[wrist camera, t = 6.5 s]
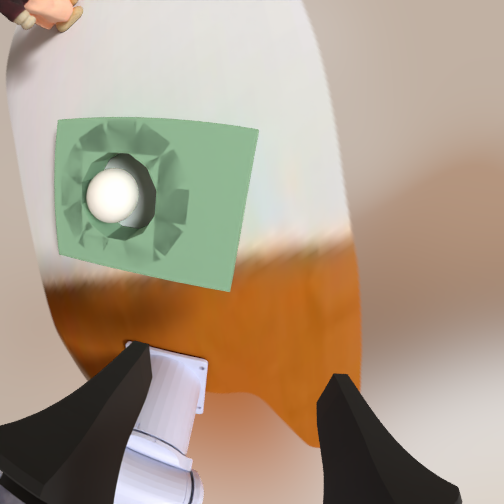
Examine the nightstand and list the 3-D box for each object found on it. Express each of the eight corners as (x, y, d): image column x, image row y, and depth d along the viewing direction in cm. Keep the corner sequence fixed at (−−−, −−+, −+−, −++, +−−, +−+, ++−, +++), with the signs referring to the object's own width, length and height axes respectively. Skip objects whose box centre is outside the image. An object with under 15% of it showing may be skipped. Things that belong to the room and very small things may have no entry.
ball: (86, 218, 17) (130, 233, 18) (71, 207, 13) (123, 225, 14) (104, 172, 17) (148, 186, 18) (94, 153, 14) (145, 169, 15)
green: (233, 274, 20) (229, 291, 17) (75, 242, 19) (59, 254, 17) (258, 130, 16) (258, 129, 13) (77, 119, 15) (58, 119, 13)
